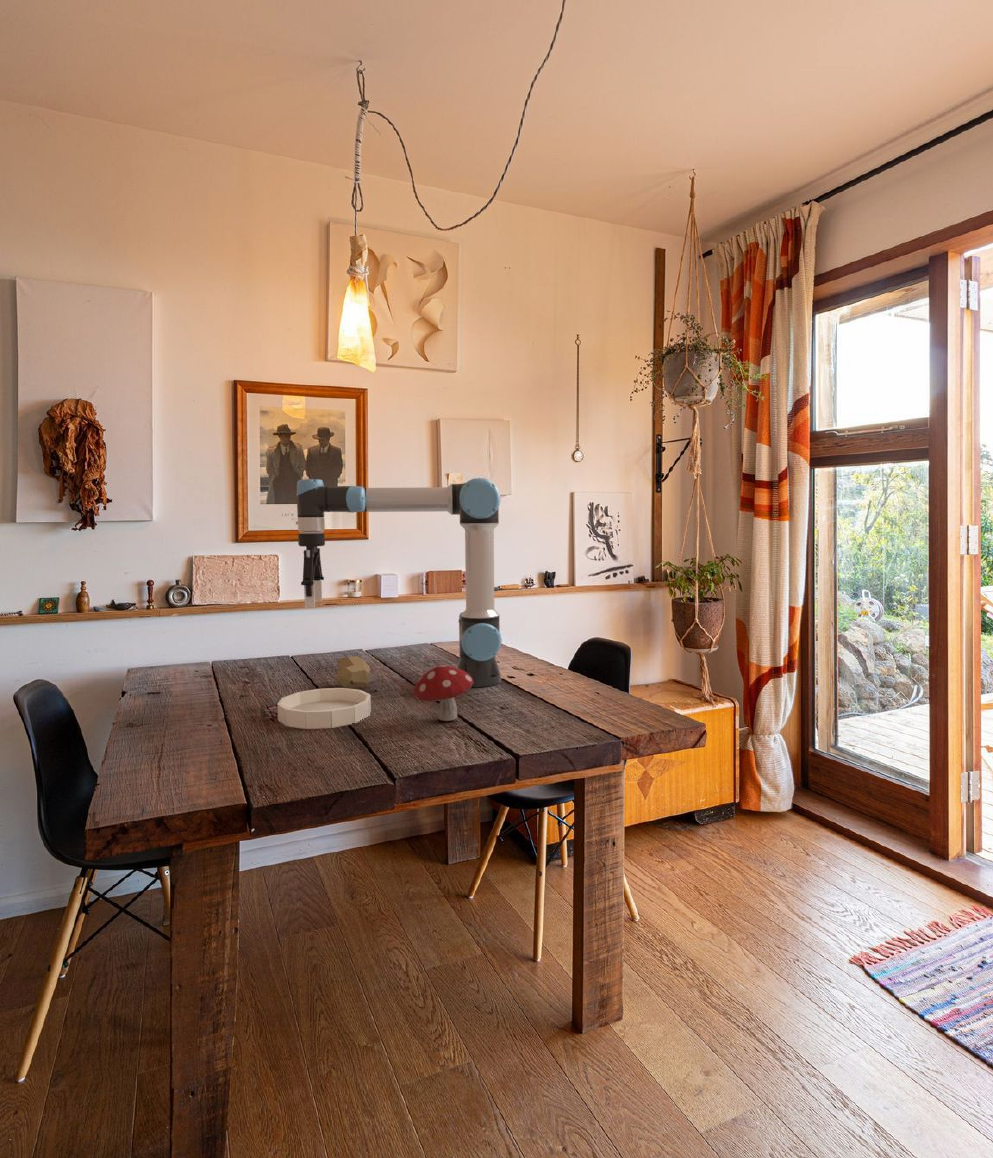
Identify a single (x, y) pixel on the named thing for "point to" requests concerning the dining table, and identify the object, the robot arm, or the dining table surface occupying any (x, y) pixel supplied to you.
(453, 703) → the decorative mushroom
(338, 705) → the cream bowl
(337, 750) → the dining table surface
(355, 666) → the low-poly potato
